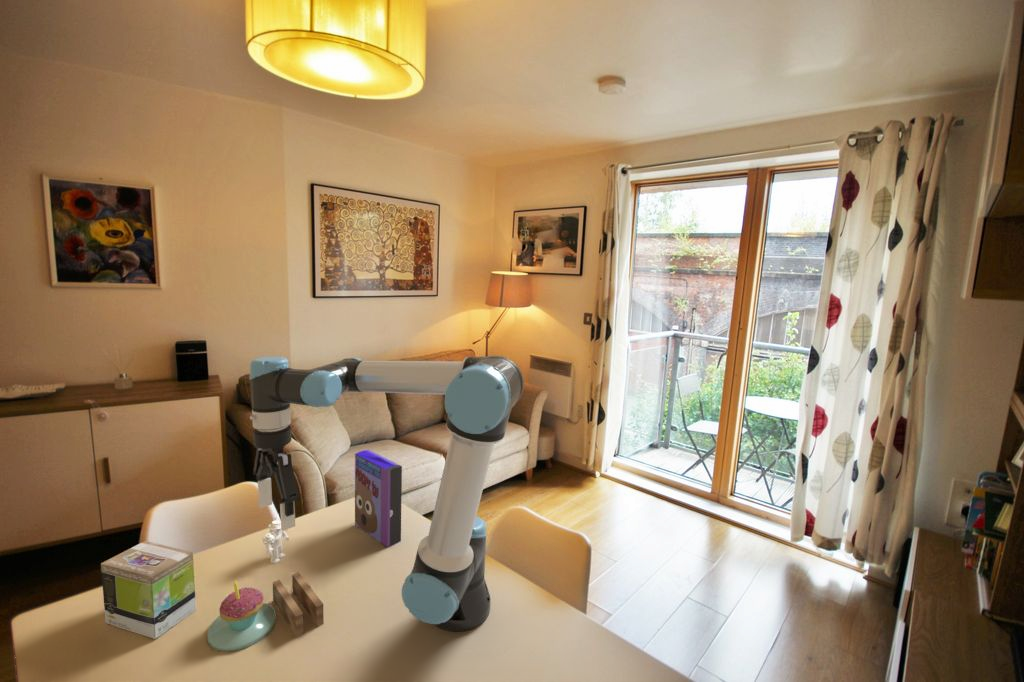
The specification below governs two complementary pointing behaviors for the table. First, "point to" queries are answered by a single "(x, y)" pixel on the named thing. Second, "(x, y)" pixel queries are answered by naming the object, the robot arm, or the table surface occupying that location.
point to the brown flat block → (307, 599)
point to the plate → (241, 631)
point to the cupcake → (241, 607)
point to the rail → (288, 608)
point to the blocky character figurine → (275, 541)
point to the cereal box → (378, 497)
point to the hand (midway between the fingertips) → (276, 516)
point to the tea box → (148, 588)
